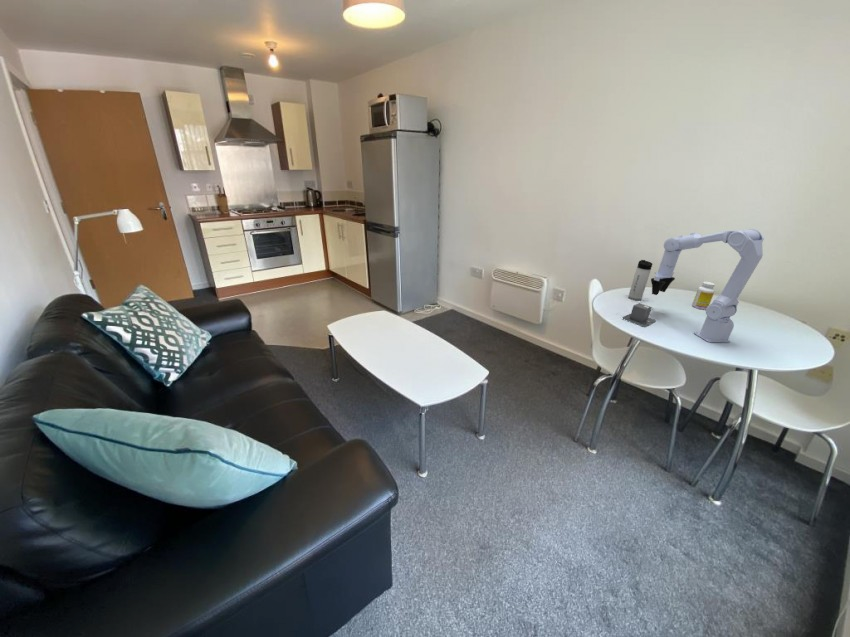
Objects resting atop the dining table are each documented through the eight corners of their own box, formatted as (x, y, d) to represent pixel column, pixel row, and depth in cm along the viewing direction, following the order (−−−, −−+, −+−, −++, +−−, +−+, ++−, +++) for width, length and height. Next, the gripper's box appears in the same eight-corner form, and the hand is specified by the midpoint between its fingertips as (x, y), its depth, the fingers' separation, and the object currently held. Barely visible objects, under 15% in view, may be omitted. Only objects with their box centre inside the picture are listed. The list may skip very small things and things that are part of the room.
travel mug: (637, 296, 189) (649, 260, 180) (643, 301, 183) (655, 263, 174) (625, 295, 189) (636, 259, 181) (631, 300, 183) (642, 263, 175)
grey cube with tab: (635, 315, 163) (639, 302, 160) (647, 319, 159) (652, 306, 157) (629, 317, 160) (633, 304, 158) (641, 321, 156) (646, 308, 154)
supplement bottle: (710, 310, 175) (720, 285, 169) (697, 309, 175) (707, 285, 169) (701, 304, 181) (711, 281, 175) (688, 304, 181) (697, 280, 175)
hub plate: (633, 314, 166) (635, 305, 164) (655, 322, 159) (658, 313, 157) (622, 318, 161) (624, 309, 159) (644, 327, 154) (647, 318, 152)
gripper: (665, 260, 165) (656, 287, 171) (650, 264, 157) (641, 292, 163) (682, 264, 160) (672, 292, 166) (667, 268, 152) (658, 297, 158)
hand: (658, 292), depth 164 cm, fingers open, 7 cm apart
